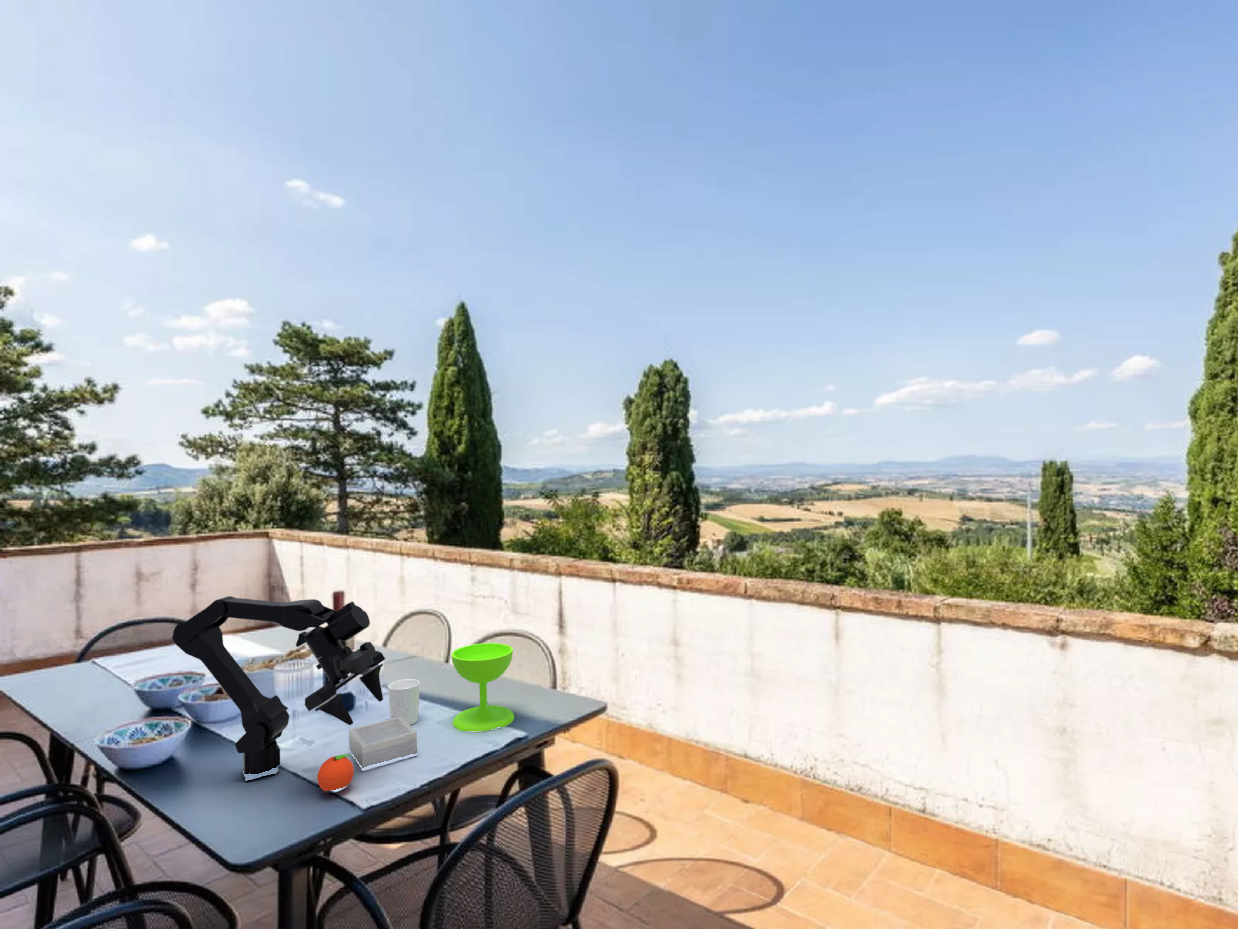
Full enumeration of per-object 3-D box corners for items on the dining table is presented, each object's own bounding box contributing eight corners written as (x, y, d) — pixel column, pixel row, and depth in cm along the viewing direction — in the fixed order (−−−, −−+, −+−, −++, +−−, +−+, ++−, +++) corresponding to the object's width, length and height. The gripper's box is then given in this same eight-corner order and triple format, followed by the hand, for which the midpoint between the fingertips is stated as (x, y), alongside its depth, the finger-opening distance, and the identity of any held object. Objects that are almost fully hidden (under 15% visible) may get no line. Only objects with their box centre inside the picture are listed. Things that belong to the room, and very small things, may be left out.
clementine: (349, 777, 134) (348, 744, 134) (365, 787, 130) (364, 753, 130) (311, 792, 128) (310, 758, 128) (327, 803, 124) (326, 767, 124)
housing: (362, 771, 136) (362, 746, 137) (349, 752, 146) (348, 729, 146) (417, 756, 144) (416, 732, 144) (400, 738, 153) (400, 716, 153)
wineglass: (439, 725, 161) (438, 656, 161) (480, 704, 175) (479, 640, 175) (487, 737, 153) (486, 663, 154) (526, 713, 167) (525, 647, 168)
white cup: (426, 717, 166) (425, 680, 167) (408, 729, 159) (408, 690, 159) (400, 715, 169) (400, 678, 169) (382, 726, 161) (381, 688, 161)
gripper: (317, 658, 125) (358, 724, 125) (381, 619, 142) (417, 677, 142) (286, 678, 130) (325, 742, 129) (352, 638, 147) (387, 694, 146)
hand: (367, 712), depth 137 cm, fingers open, 9 cm apart
